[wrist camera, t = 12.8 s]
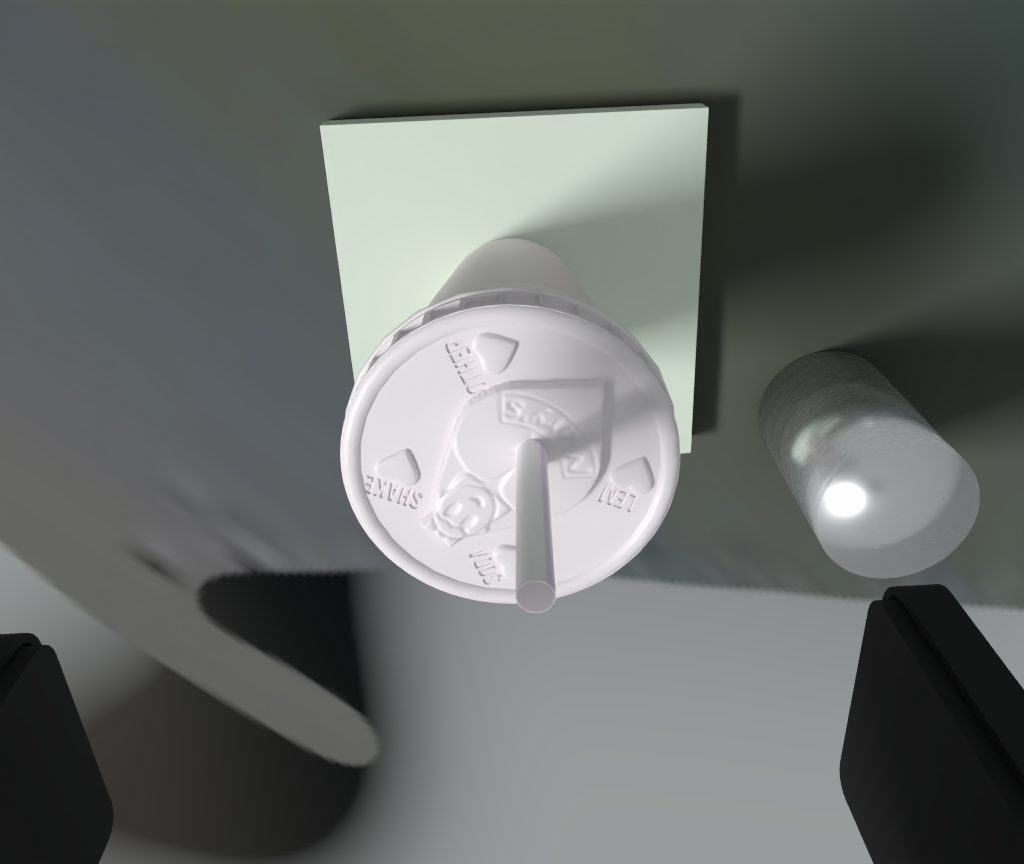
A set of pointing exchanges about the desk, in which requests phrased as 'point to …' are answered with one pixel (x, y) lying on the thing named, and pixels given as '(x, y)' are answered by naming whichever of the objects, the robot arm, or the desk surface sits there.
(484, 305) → the smoothie
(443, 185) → the coaster mat
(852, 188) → the desk surface
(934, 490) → the set of grey cylinders
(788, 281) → the desk surface
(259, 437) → the desk surface
